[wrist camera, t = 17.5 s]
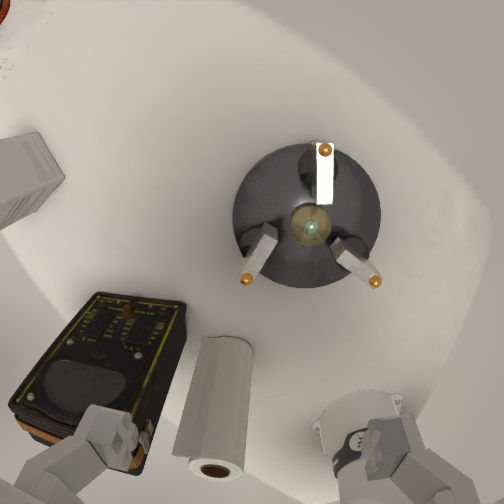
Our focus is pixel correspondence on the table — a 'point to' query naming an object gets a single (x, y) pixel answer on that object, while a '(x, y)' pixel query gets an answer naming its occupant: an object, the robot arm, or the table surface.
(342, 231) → the plate
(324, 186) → the grey lever knob
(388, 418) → the robot arm
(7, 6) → the canned food
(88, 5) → the table surface
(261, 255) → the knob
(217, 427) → the paper towel roll
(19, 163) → the supplement box
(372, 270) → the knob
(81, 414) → the voltmeter
